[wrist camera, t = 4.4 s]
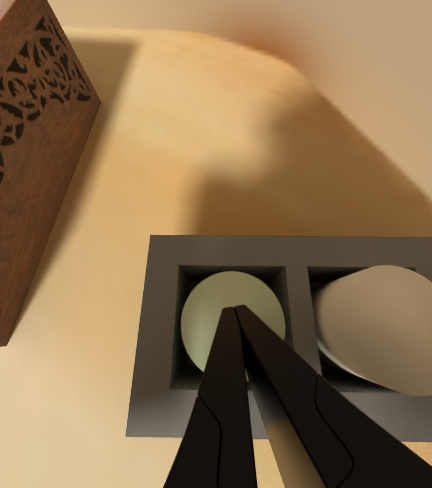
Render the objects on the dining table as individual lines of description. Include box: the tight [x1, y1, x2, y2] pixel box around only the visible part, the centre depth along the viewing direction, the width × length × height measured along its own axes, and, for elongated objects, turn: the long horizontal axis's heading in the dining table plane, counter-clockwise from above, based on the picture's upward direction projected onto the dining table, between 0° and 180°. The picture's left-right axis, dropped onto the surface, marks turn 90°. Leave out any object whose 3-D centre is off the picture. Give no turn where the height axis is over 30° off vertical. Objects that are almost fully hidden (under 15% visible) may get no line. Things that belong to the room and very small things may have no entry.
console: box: [126, 235, 432, 442], centre depth 13 cm, size 8×20×8 cm, turn 89°
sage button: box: [181, 271, 285, 381], centre depth 11 cm, size 4×4×4 cm
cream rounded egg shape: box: [310, 265, 432, 396], centre depth 10 cm, size 4×4×4 cm
